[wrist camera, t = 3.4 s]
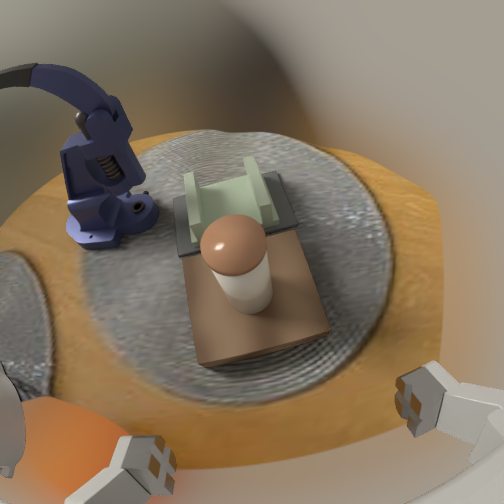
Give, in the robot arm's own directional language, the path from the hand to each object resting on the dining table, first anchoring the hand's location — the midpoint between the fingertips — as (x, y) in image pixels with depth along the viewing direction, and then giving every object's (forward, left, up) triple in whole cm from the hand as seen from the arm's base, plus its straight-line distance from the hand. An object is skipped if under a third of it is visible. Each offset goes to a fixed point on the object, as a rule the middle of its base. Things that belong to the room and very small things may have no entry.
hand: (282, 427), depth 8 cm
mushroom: (0, +12, -15) cm, 19 cm away
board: (0, +12, -18) cm, 21 cm away
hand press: (-17, +28, -18) cm, 38 cm away
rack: (0, +24, -17) cm, 29 cm away
